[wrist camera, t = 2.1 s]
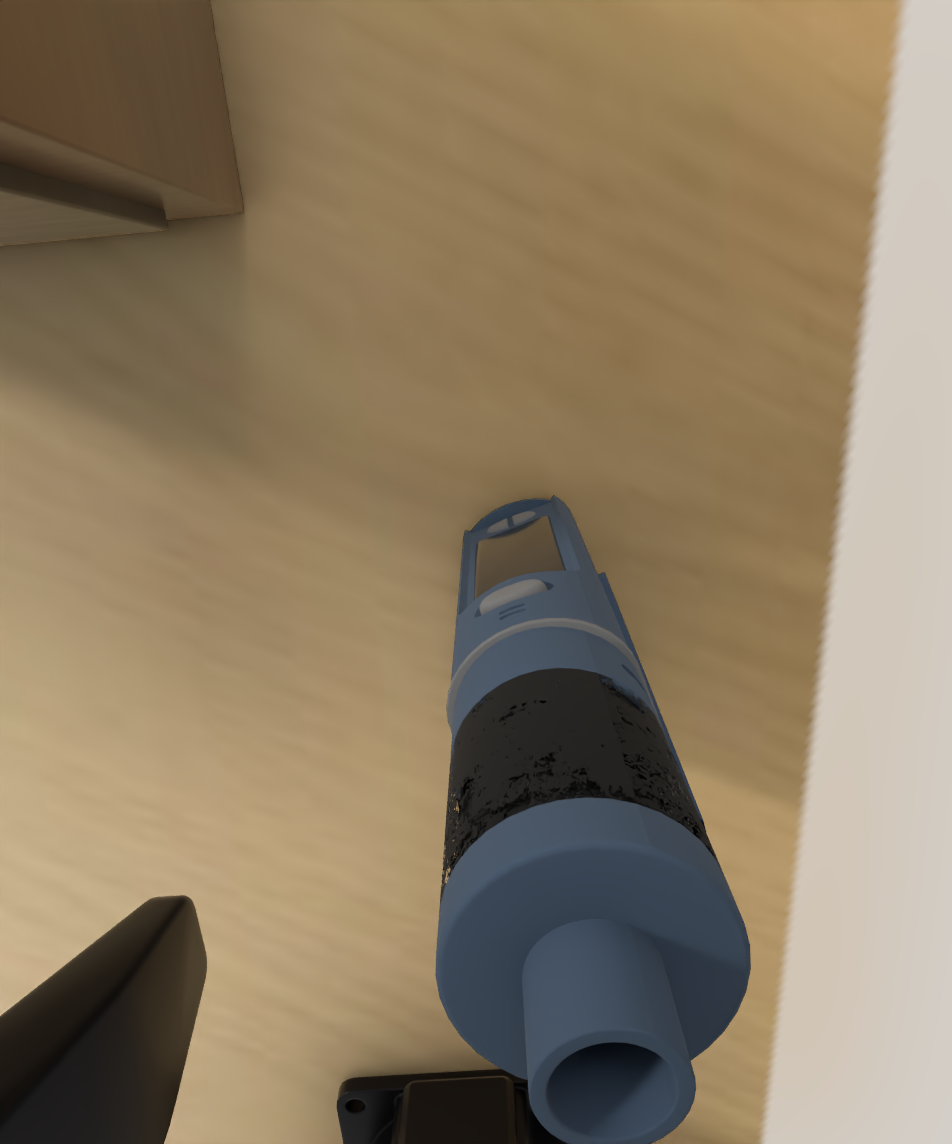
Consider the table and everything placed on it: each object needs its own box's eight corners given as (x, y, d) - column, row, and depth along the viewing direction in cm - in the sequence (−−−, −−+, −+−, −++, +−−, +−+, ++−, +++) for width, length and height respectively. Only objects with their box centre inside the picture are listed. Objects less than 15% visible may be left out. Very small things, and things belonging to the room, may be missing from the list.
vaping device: (560, 466, 16) (759, 876, 4) (644, 687, 17) (948, 1412, 6) (441, 513, 16) (341, 1007, 5) (533, 726, 18) (623, 1483, 6)
